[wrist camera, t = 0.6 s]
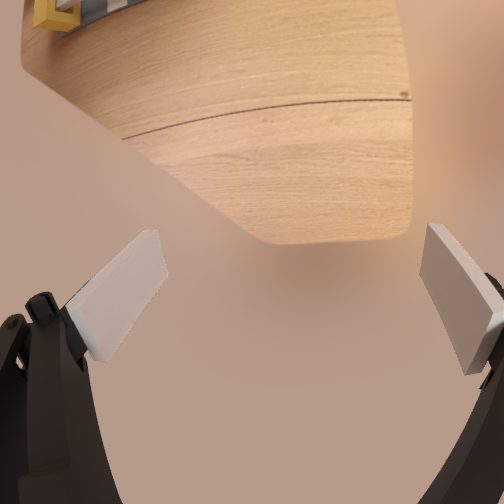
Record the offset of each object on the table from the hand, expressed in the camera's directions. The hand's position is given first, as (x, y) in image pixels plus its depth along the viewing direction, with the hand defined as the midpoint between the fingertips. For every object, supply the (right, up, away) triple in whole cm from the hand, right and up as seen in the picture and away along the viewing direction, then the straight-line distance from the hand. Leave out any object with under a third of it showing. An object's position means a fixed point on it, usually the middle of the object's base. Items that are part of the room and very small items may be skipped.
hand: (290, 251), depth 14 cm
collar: (-30, +39, +15) cm, 51 cm away
